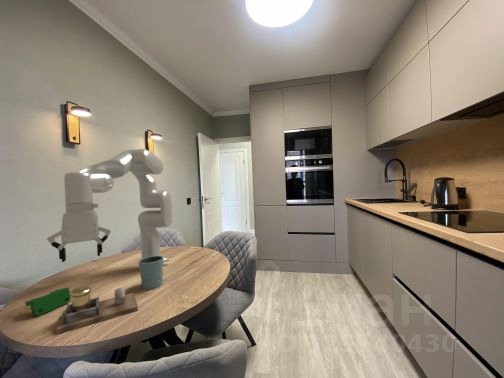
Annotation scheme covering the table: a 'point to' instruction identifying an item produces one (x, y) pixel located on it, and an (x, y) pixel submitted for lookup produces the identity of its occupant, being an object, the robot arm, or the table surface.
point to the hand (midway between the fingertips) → (82, 257)
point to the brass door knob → (81, 299)
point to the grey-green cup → (151, 272)
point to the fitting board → (98, 311)
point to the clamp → (49, 301)
